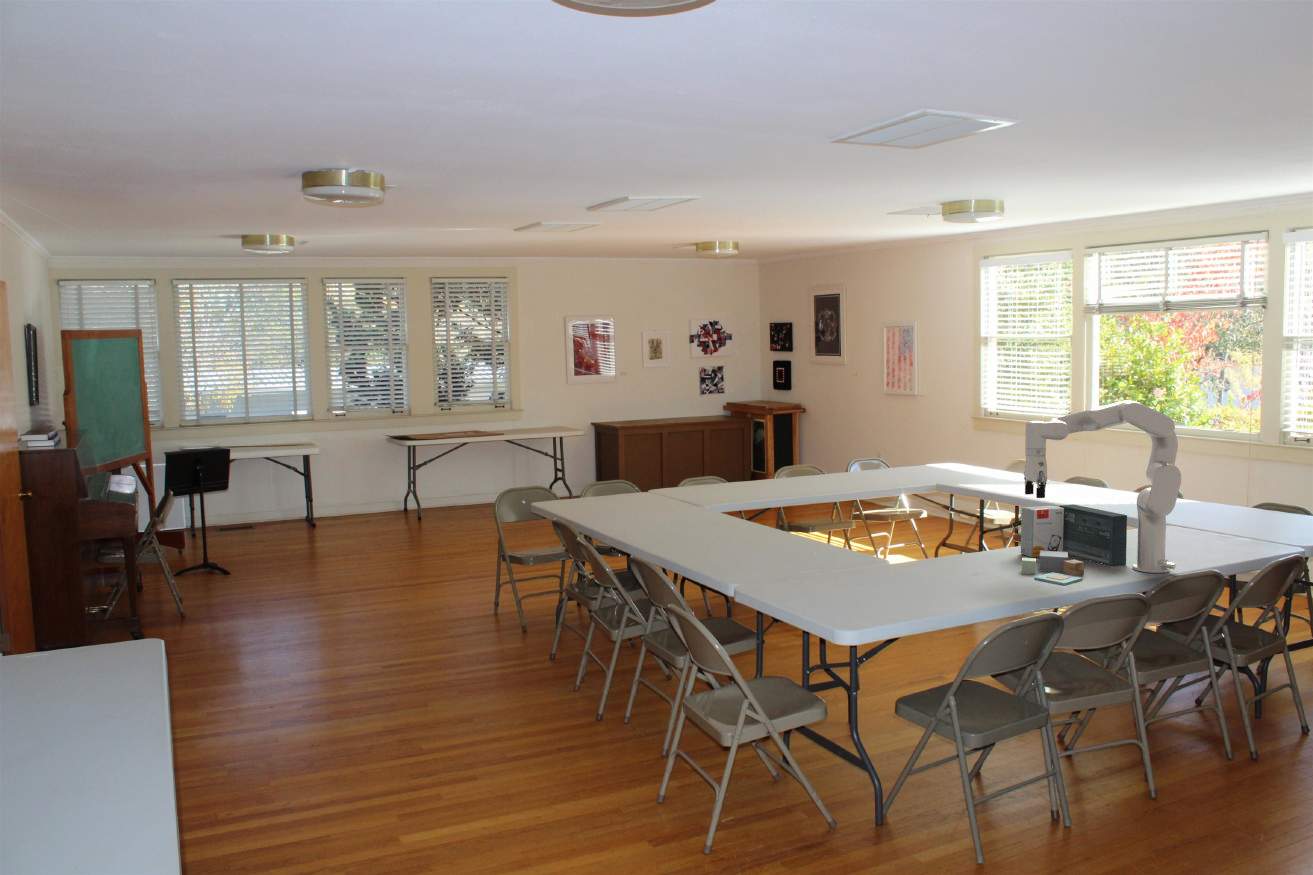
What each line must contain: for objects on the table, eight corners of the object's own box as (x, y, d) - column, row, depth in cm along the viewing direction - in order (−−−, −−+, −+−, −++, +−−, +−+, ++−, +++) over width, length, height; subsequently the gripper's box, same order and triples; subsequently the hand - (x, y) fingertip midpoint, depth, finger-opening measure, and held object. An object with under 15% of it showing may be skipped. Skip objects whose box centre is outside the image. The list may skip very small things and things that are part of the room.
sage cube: (1035, 571, 358) (1036, 558, 358) (1035, 573, 354) (1035, 561, 353) (1022, 570, 360) (1022, 557, 360) (1021, 573, 356) (1021, 560, 355)
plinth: (1067, 567, 364) (1067, 552, 364) (1067, 572, 355) (1067, 557, 355) (1040, 565, 368) (1040, 550, 368) (1039, 570, 359) (1039, 555, 359)
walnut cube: (1074, 572, 355) (1074, 559, 354) (1083, 575, 350) (1084, 562, 350) (1063, 573, 353) (1063, 560, 353) (1073, 576, 349) (1073, 563, 348)
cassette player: (1126, 565, 364) (1127, 515, 363) (1111, 566, 362) (1112, 516, 361) (1072, 550, 392) (1072, 504, 390) (1058, 552, 390) (1059, 505, 388)
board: (1082, 579, 343) (1082, 577, 342) (1064, 585, 336) (1064, 582, 336) (1052, 574, 352) (1052, 571, 352) (1034, 579, 345) (1034, 576, 345)
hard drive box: (1031, 557, 381) (1032, 510, 379) (1019, 554, 388) (1020, 507, 386) (1063, 554, 385) (1064, 507, 383) (1051, 551, 392) (1051, 504, 390)
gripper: (1055, 454, 352) (1054, 499, 353) (1034, 450, 369) (1034, 492, 370) (1036, 455, 351) (1035, 499, 353) (1016, 450, 368) (1015, 493, 370)
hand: (1034, 496), depth 362 cm, fingers open, 9 cm apart
